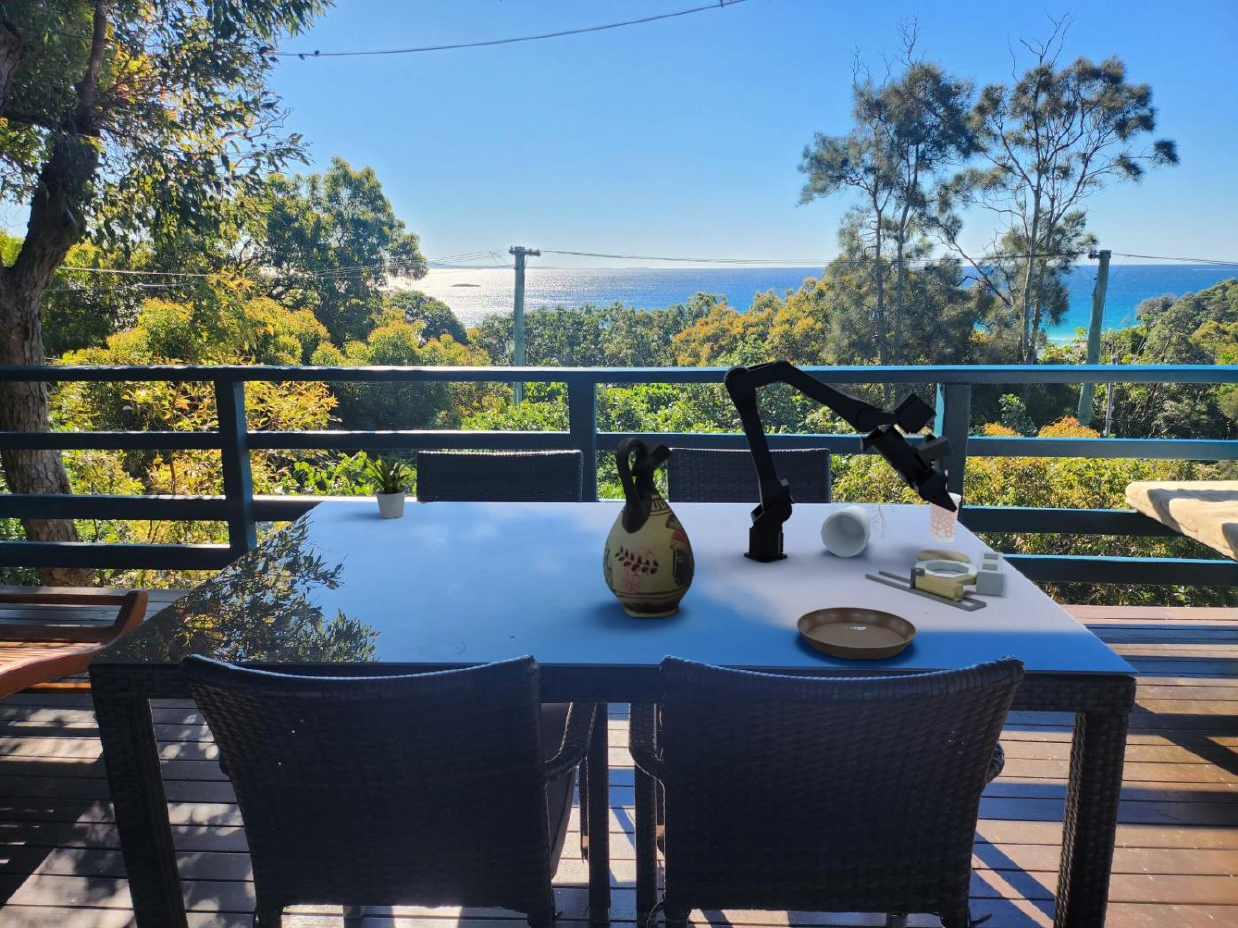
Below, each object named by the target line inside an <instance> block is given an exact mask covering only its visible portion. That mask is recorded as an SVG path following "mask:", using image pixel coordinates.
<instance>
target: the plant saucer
mask: <svg viewBox="0 0 1238 928" xmlns="http://www.w3.org/2000/svg"><path fill="white" fill-rule="evenodd" d="M796 627H797V629H798V631H799V633H800V635H801V636H802V638H804V639H805V641H806V642H807V644H809V645H810V646H811V647H812V648H813V647H814V648H813V649H815V650H816V649H817V651H818V650H819V651H818V652H820V651H821V653H822V652H824V653H823V654H825V653H826V654H825V655H828V654H829V655H828V656H831V655H832V657H835V656H837V657H836V658H839V657H841V658H840V659H845V658H850V659H849V660H854V659H876V660H880V659H881V658H883V659H887V658H890V657H894V656H896V655H898V654H900V653H901V652H903V650H905V649H906V648H907V647H908V646H909V645H910V644H911V643H912V641H914V638H915V637H916V635H917V631H918V630H917V627H916V626H915V625H914V624H913V622H911V621H909V620H908V619H906V618H904V617H902V616H900V615H897V614H895V613H892V612H887V611H883V610H878V609H873V608H865V607H849V606H845V607H844V606H842V607H841V606H840V607H836V606H834V607H826V608H821V609H820V608H819V609H815V610H811V611H809V612H806V613H804V614H803V615H801V616H799V618H798V619H797V620H796ZM846 627H847V628H846ZM851 627H852V628H851ZM853 627H866V629H864V630H857V628H856V630H855V628H854V629H853ZM850 628H851V629H850Z"/></svg>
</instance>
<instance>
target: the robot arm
mask: <svg viewBox="0 0 1238 928" xmlns="http://www.w3.org/2000/svg"><path fill="white" fill-rule="evenodd" d="M779 381H782V382H784V383H785V384H787V385H789V386H790V387H793V388H794V389H796V390H797V391H799V392H801V393H803V394H804V395H806V396H808V397H809V398H812V399H814V400H815V401H817V402H819V403H820V404H822V405H824V406H825V407H827V408H829V409H831V410H832V411H833V412H834V413H835V414H837V415H838V416H839V417H840V418H841V419H842V420H844V421H845V422H846V423H847V424H848V425H850V426H851V427H852V428H853V429H855V430H856V431H857V432H859V433H862V434H867V433H869V434H868V435H860V437H859V440H860V445H859V449H860V450H861V451H862V452H867V451H868V450H869V449H870V448H871V447H872V448H873V449H874V450H875V451H876V453H877V454H878V455H879V456H880V457H881V458H882V459H883V460H884V461H885V462H886V463H887V465H888V466H890V467H891V468H892V469H893V470H894V472H896V473H897V477H898V478H899V479H900V480H901V482H903V483H904V484H905V485H906V486H907V485H908V487H909V489H911V490H913V492H914V493H916V494H917V495H918V497H920V498H921V500H922V501H924V502H928V503H929V504H930V503H932V504H935V505H937V506H940V507H942V508H944V509H946V510H949V511H951V512H955V511H956V510H957V509H958V510H959V507H958V508H957V507H956V505H955V503H954V502H953V500H952V498H951V497H950V495H949V493H950V492H949V491H948V490H946V484H947V485H948V483H949V482H950V480H951V479H950V477H949V476H948V474H947V475H946V474H945V471H943V470H941V469H940V468H934V466H935V464H934V463H933V462H936V461H938V460H941V459H943V458H945V457H950V456H952V455H954V453H955V451H954V450H953V447H952V445H951V442H950V440H949V438H948V437H946V436H944V435H939V436H937V437H936V436H935V435H934V434H933V433H931V432H930V433H927V434H925V435H923V439H922V442H921V443H920V445H918V446H916V445H915V444H913V443H912V442H910V441H908V439H906V437H905V436H904V435H903V434H902V433H901V432H900V431H899V430H898V429H897V428H896V427H895V425H896V426H897V427H898V428H899V429H900V430H901V431H902V432H903V433H904V434H905V435H906V436H909V435H910V434H911V435H914V436H915V435H917V434H918V433H920V432H921V431H922V430H923V429H924V428H925V427H926V426H927V425H928V424H930V422H931V421H933V420H934V419H935V418H936V417H937V416H938V414H937V412H936V411H935V410H934V409H933V408H932V406H930V405H929V403H928V402H925V401H924V400H923V399H922V398H920V397H919V396H918V395H917V394H916V393H915V392H914V391H909V392H908V393H907V394H906V395H905V396H904V398H903V399H902V400H901V401H900V402H898V404H897V405H895V406H894V407H893V408H892V409H891V410H890V409H888V408H886V407H883V408H881V407H876V406H875V405H874V404H872V403H870V402H869V401H867V400H865V399H862V398H858V397H855V396H853V395H850V394H847V393H843V392H841V391H839V390H837V389H835V388H833V387H831V386H830V385H828V384H826V383H825V382H822V381H821V380H819V379H817V378H816V377H814V376H813V375H810V374H809V373H807V372H806V371H804V370H802V369H800V368H798V367H796V366H795V365H793V364H792V363H791V362H790V361H789V360H786V359H784V358H777V359H775V360H773V361H769V362H764V363H759V364H756V365H755V364H754V365H751V366H747V367H746V366H744V365H741V364H740V365H739V364H738V365H732V366H731V367H729V368H728V369H727V370H726V371H725V373H724V377H723V383H724V386H725V390H726V391H727V393H728V395H729V398H730V399H731V401H732V403H733V405H734V407H735V408H736V411H737V412H738V414H739V417H740V421H741V424H742V427H743V430H744V431H743V432H744V433H745V434H744V435H745V437H746V441H747V443H748V447H749V451H750V454H751V458H752V461H753V464H754V467H755V471H756V474H757V476H758V477H757V478H758V479H757V480H758V487H759V489H758V490H759V499H760V503H759V504H758V505H757V506H756V507H755V508H754V509H753V510H752V511H751V512H750V513H749V514H750V518H751V521H752V526H751V527H749V528H748V530H749V531H748V551H747V552H744V553H743V556H744V557H747V558H750V559H753V560H756V561H759V562H763V563H769V562H772V561H776V560H777V561H778V560H782V559H786V558H788V554H786V553H784V532H783V531H784V530H783V527H784V526H783V524H784V523H785V522H786V523H787V521H788V520H789V519H790V518H791V516H792V514H793V505H795V504H796V503H795V501H794V499H793V497H792V495H791V490H790V484H789V482H788V480H787V479H786V478H784V479H781V480H780V478H779V477H778V475H777V472H776V469H775V466H774V462H773V459H772V454H771V451H770V448H769V444H768V442H767V438H766V434H765V431H764V429H763V425H762V422H761V418H760V415H759V411H758V402H757V390H756V389H758V388H761V387H764V386H765V387H766V386H767V385H770V384H773V383H777V382H779Z"/></svg>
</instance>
